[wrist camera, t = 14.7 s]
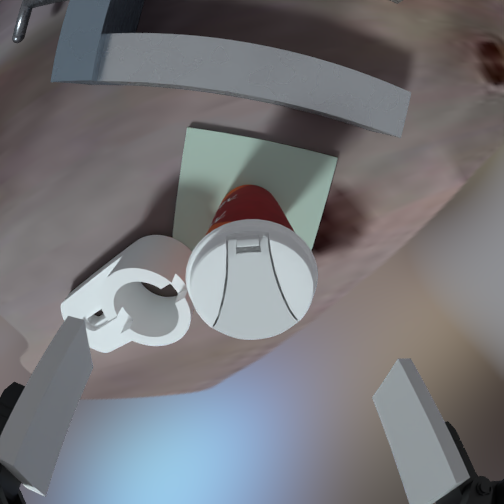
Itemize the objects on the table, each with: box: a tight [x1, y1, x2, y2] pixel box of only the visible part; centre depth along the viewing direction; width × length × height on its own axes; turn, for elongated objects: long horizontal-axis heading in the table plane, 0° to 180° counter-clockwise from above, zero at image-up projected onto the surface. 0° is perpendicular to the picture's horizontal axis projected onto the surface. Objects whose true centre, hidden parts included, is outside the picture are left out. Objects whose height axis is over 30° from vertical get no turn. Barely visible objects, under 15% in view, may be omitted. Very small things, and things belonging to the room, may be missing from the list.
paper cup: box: [186, 185, 318, 340], centre depth 23 cm, size 8×8×14 cm
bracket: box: [61, 235, 194, 353], centre depth 30 cm, size 20×9×7 cm, turn 123°
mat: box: [172, 127, 338, 251], centre depth 30 cm, size 14×14×1 cm
